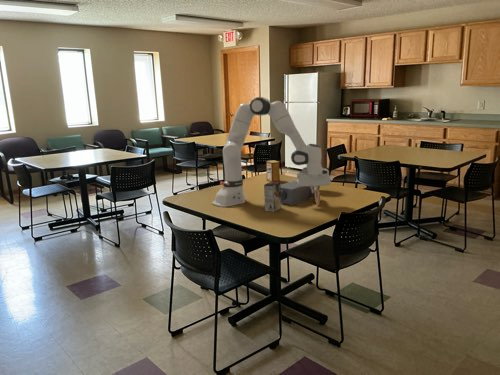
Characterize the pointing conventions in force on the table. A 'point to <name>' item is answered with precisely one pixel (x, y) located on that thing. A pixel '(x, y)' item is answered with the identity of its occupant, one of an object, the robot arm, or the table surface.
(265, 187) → the coffee box
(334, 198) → the table surface
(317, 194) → the side door
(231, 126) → the robot arm
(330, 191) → the table surface
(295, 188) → the camera housing
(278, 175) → the baking soda box
